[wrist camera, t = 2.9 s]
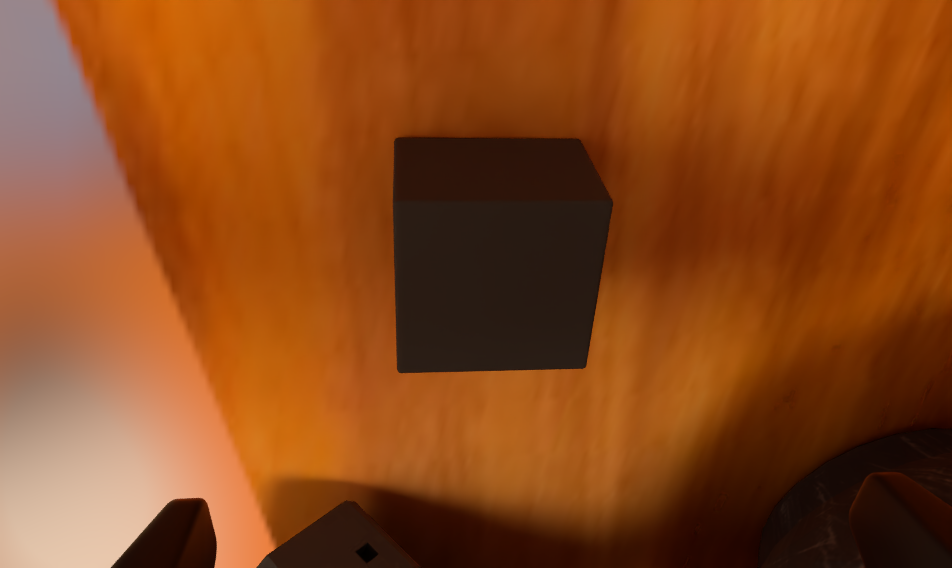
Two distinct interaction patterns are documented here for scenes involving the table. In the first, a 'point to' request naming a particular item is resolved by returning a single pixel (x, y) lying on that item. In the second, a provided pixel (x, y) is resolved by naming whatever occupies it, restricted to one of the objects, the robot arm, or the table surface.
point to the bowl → (849, 499)
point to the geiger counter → (340, 544)
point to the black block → (496, 253)
